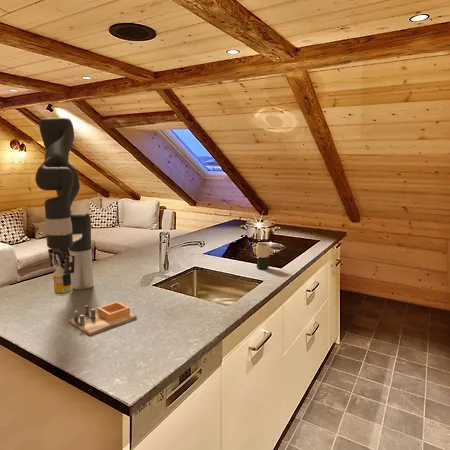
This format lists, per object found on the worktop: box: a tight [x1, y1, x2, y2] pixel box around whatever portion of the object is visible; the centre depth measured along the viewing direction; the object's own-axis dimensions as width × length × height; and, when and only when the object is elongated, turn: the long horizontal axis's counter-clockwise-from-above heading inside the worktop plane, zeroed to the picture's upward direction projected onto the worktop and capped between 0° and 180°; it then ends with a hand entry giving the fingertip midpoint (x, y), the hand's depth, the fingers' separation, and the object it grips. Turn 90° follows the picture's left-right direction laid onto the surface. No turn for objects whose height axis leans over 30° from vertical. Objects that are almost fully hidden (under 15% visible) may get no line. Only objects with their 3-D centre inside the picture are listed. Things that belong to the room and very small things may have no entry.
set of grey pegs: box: [73, 304, 96, 326], centre depth 128 cm, size 7×6×4 cm
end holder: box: [96, 301, 131, 321], centre depth 133 cm, size 8×8×2 cm
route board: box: [69, 309, 138, 336], centre depth 130 cm, size 14×18×1 cm
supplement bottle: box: [52, 264, 74, 297], centre depth 117 cm, size 5×5×10 cm
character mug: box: [252, 242, 274, 270], centre depth 193 cm, size 11×7×13 cm, turn 64°
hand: (63, 282), depth 118 cm, fingers closed on supplement bottle, 5 cm apart
